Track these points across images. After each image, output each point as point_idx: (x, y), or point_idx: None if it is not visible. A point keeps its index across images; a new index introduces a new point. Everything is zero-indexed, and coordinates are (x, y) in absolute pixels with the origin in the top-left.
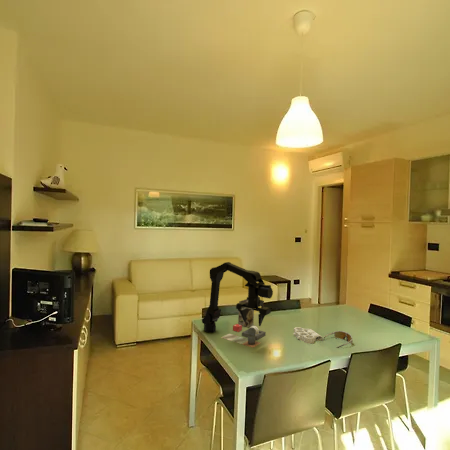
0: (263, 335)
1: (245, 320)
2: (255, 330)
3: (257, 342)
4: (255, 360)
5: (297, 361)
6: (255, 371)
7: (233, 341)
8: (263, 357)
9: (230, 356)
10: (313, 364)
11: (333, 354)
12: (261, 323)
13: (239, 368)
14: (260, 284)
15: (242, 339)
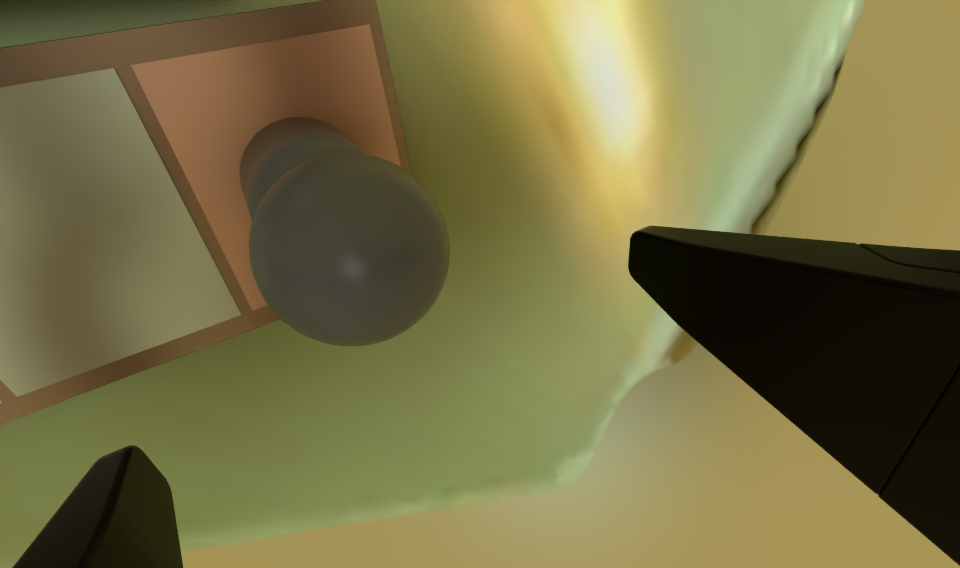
0: None
1: (157, 532)
2: (439, 216)
3: (326, 62)
4: (550, 342)
5: (768, 73)
6: (613, 406)
7: (70, 373)
8: (567, 258)
9: (387, 479)
10: (850, 15)
11: None
12: (715, 238)
13: (539, 469)
14: None
15: (38, 192)
